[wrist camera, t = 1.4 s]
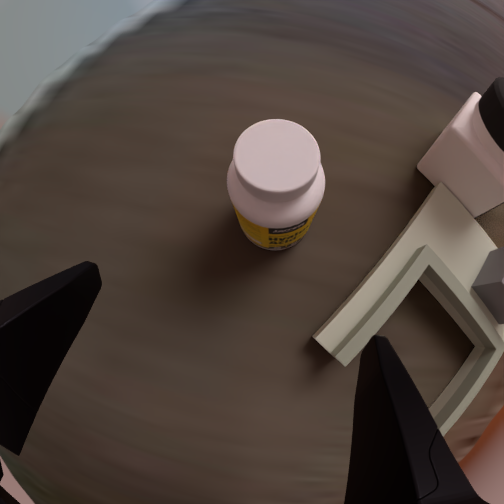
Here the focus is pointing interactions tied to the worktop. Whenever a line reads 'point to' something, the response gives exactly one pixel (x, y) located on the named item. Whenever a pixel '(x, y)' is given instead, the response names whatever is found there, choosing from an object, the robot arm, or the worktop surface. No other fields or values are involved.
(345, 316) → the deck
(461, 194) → the medicine bottle
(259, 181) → the supplement bottle
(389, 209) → the worktop surface
